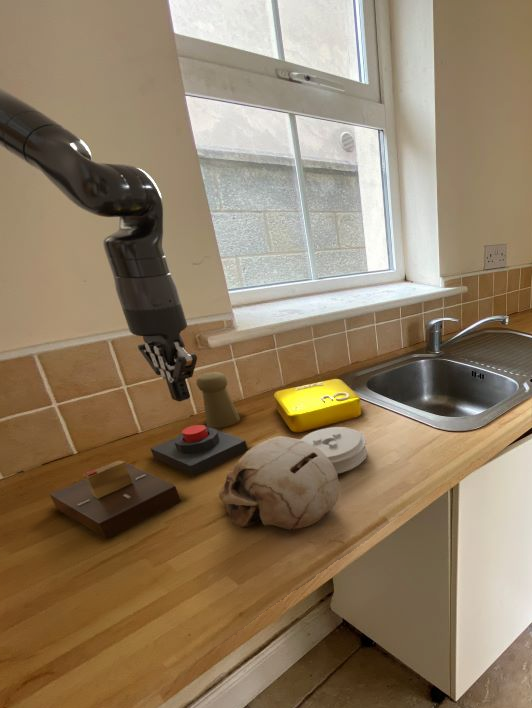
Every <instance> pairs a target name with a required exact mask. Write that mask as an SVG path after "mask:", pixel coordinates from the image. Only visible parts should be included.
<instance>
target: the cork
mask: <svg viewBox="0 0 532 708" xmlns="http://www.w3.org/2000/svg"><path fill="white" fill-rule="evenodd" d="M196 386H197V388H198V389H199V390H200V391H201V392H202V399H203V407H204V414H205V421H206V426H208V427H211V428H214V429H222V428H227V427H230V426H233V425H235V424H237V423H239V421H240V419H241V417H240V414H239V413H238V411H237V409H236V406H235V404H234V402H233V400H232V397H231V395H230V393H229V391H228V389H227V386H228V379H227V377H226V375H225V374H224V373H222V372H219V371H210V372H205V373H203V374H201V375H199V376H198V377H197V378H196Z"/></svg>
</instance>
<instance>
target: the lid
mask: <svg viewBox="0 0 532 708" xmlns="http://www.w3.org/2000/svg"><path fill="white" fill-rule="evenodd" d="M300 440H301V441H303V442H306V443H308V444H310V445H313V446H315V447H317V448H318V449H320V450H321V451H322V452H323V453H324V454H325V455H326V456H327V458H328V459H329V460H330V461H331V462H332V464H333V466H334V468H335V470H336V472H337V475H339V474H342V473H346V472H348V471H350V470H353V469H354V468H357V466H359V465H361V464H362V463H363V462H364V461H365V460H366V458H367V456H368V448H367V446H366V444H367V439H366V436H365V435H364V434H363V433H362V432H360V431H359V430H356V429H353V428H350V427H344V426H334V427H333V426H332V427H326V428H321V429H317V430H314V431H312V432H309V433H308V434H306V435H304V436H302V438H300Z"/></svg>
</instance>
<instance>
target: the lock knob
mask: <svg viewBox="0 0 532 708" xmlns="http://www.w3.org/2000/svg"><path fill="white" fill-rule="evenodd" d="M125 463H126V462H125V461H123V460H120V459H119V460H116V461H113V462H111V463H108V464H106V465H104V466H101V467H98V468H95V469H91V470H88V471H86V472H84V474H82V476H83V478H84V480H86V482H87V484H88V486H89V489H90V491H91V493H92V495H93V496H94V497H96V498H97V499H99V498H101V497H103V496H105V495H108V494H110V493H112V492H114V491H117V490H119V489H121V488H123V487H125V486H128V485H130V484H132V483H133V482H132V479H131V477H130V475H129V472H128V470H127V467H126V465H125Z"/></svg>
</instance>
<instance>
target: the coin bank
mask: <svg viewBox="0 0 532 708" xmlns="http://www.w3.org/2000/svg"><path fill="white" fill-rule="evenodd" d="M339 485H340V484H339V476H338V474H337V472H336V470H335V468H334V466H333V464H332V462H331V461H330V460H329V459H328V458H327V456H326V455H325V454H324V453H323V452H322V451H321V450H320V449H318V448H317V447H315V446H313V445H310V444H308V443H306V442H303V441H301V439H298V438H293V437H288V436H283V435H282V436H281V435H279V436H278V435H277V436H274V437H270V438H269V439H266V440H263V441H261V442H259V443H257V444H255V445H253V446H252V447H251V448H250V449H248V450H247V451H245V452H244V454H243V455H242V456H241V457H240V458H239V459H238V461H237V462H236V463H235V464H234V466H233V467H232V468H231V469H230V470H229V471H228V472H227V474H226V478H225V482H224V484H223V485H222V486H221V488H220V489H219V491H218V498H219V500H220V501H221V502H222V503H223V504H226V508H225V509H226V512H227V513H228V516H229V519H231V520H232V521H233V522H234V523H235V525H237V526H238V527H240V528H247V527H251V526H252V525H253V524H256V523H257V522H259V521H261V523H262V524H263V525H264V526H276V527H279V528H281V529H285V530H286V531H293V530H298V529H303V528H305V527H306V528H307V527H309V526H313V525H315V524H316V523H317V522H319V521H320V520H321V519H322V518H323V517H324V516H326V515H327V514H328V512H329V511H330V510H332V509H333V508H334V506H335V505H336V503H337V502H338V499H339V495H340V494H339V493H340V486H339Z"/></svg>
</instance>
